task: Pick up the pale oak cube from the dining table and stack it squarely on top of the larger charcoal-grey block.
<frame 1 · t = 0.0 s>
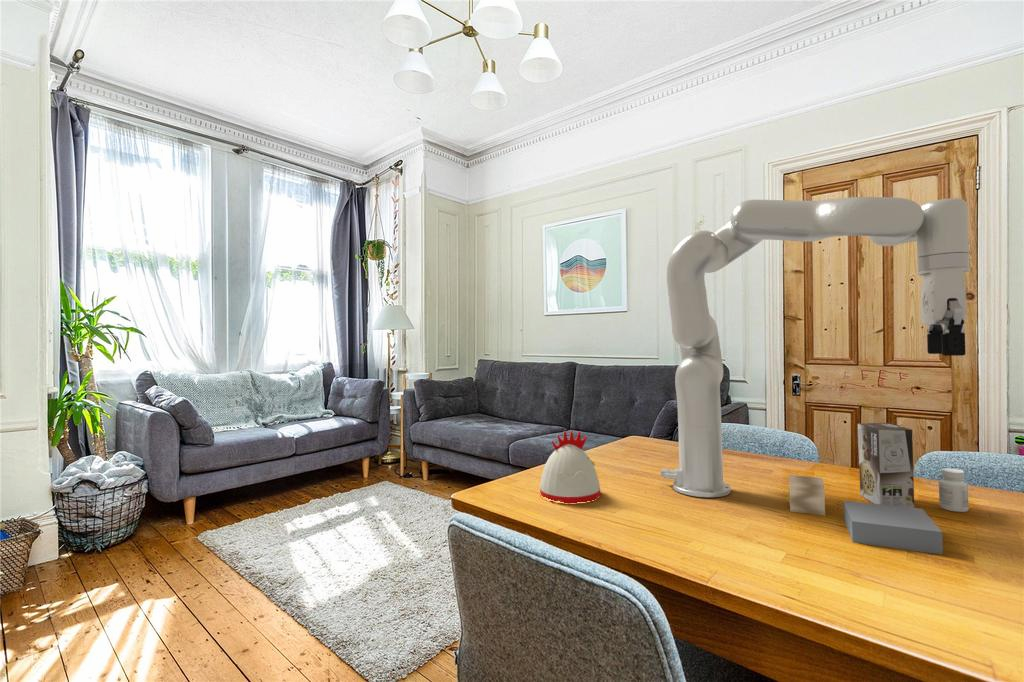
hand: (945, 354, 95), 31 cm above the table, fingers open, 9 cm apart
oak cube: (806, 509, 102), on the table
charcoal block: (888, 537, 88), on the table
coffee box: (886, 502, 105), on the table
kitchen timer: (570, 495, 116), on the table
pill bottle: (953, 509, 100), on the table
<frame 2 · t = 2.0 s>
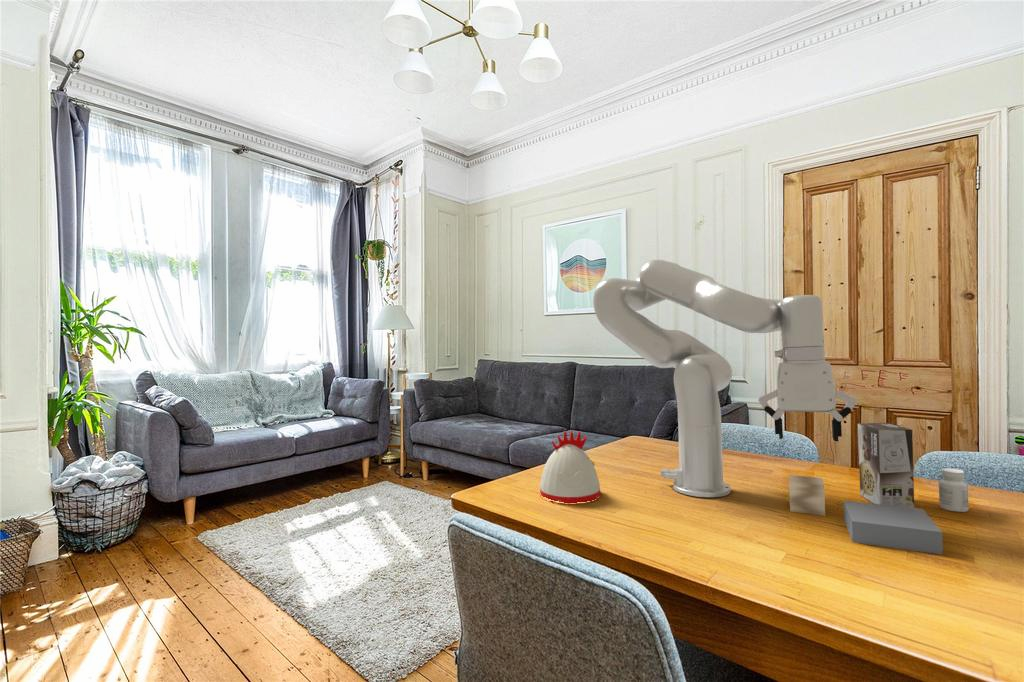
hand: (807, 439, 102), 14 cm above the table, fingers open, 9 cm apart
nothing on the table moved.
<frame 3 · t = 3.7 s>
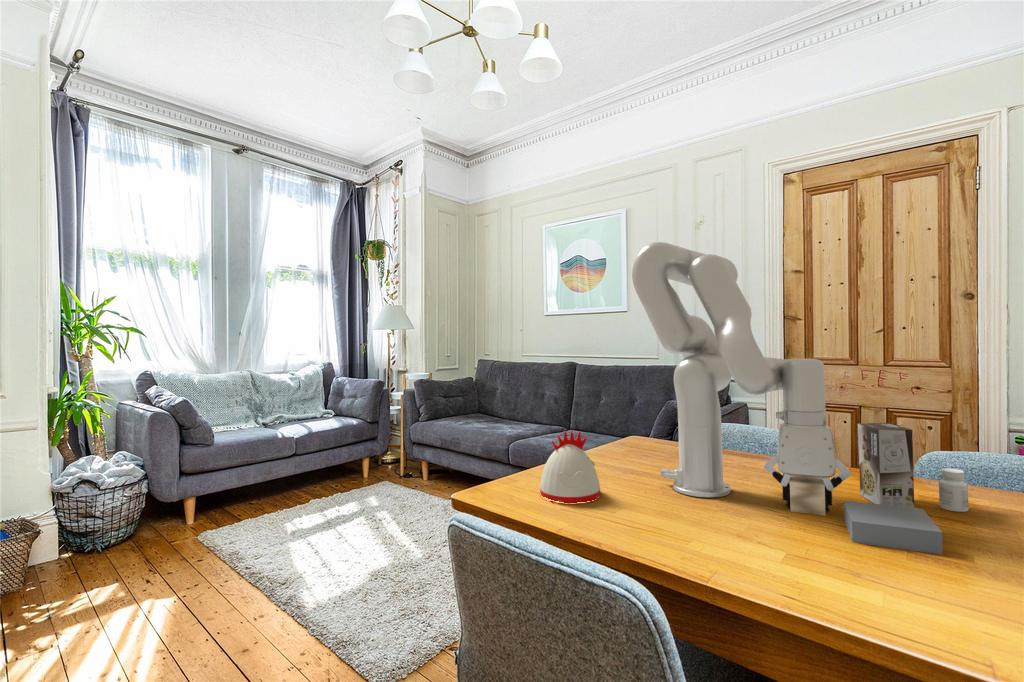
hand: (806, 505, 102), 1 cm above the table, fingers closed on oak cube, 6 cm apart
oak cube: (806, 508, 102), on the table, touching gripper
everything else where it was.
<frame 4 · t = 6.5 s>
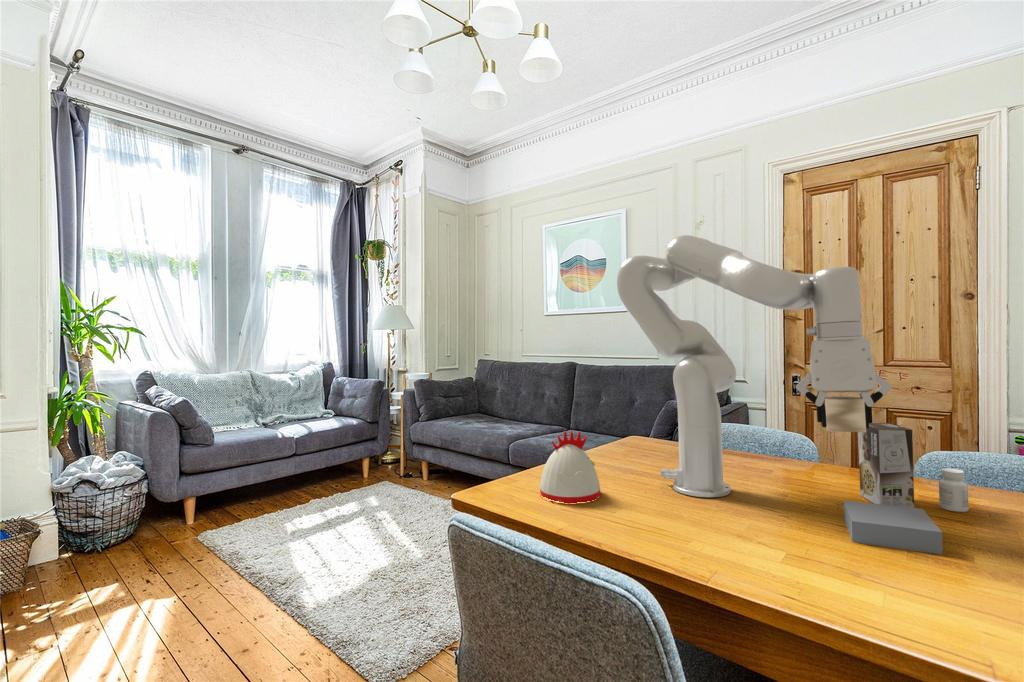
hand: (844, 425, 95), 18 cm above the table, fingers closed on oak cube, 6 cm apart
oak cube: (844, 429, 95), point 17 cm above the table, touching gripper
everything else where it was.
when the fingers open (5 cm above the table, at t = 9.6 s): oak cube stays where it is, point 4 cm above the table.
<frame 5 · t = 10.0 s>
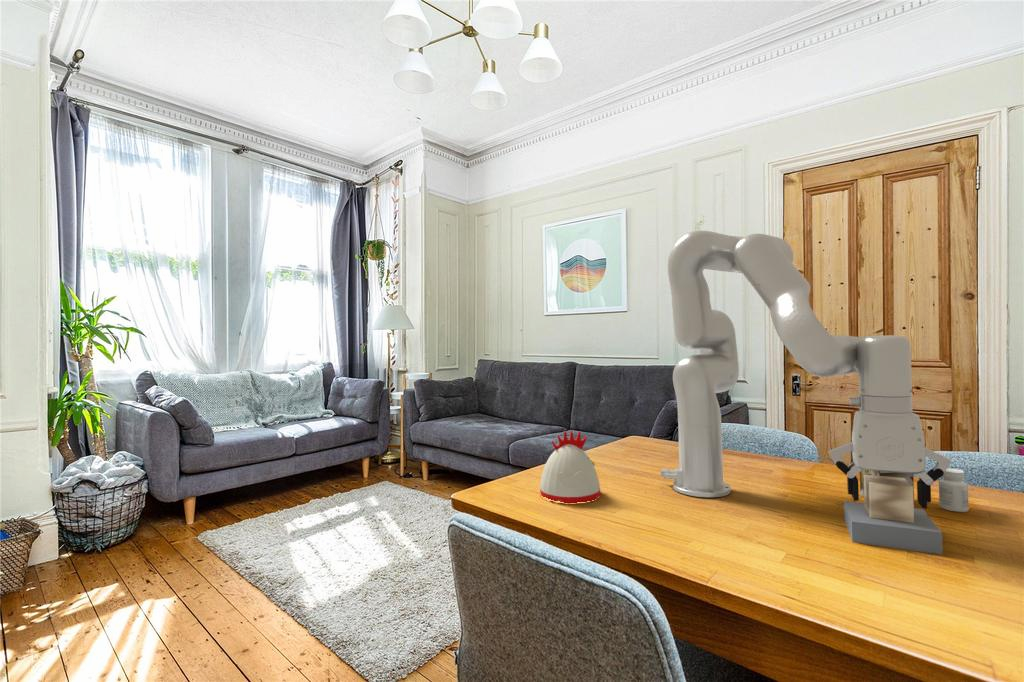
hand: (887, 502, 88), 6 cm above the table, fingers open, 9 cm apart
oak cube: (888, 514, 88), point 4 cm above the table
everything else where it was.
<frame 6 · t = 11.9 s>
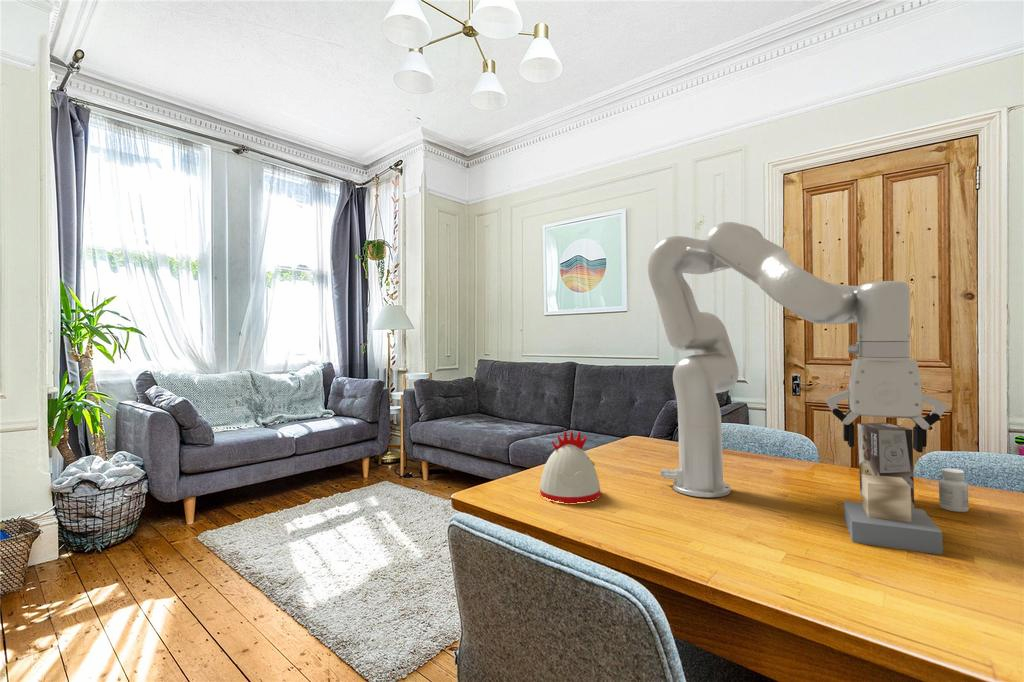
hand: (883, 448, 88), 15 cm above the table, fingers open, 9 cm apart
nothing on the table moved.
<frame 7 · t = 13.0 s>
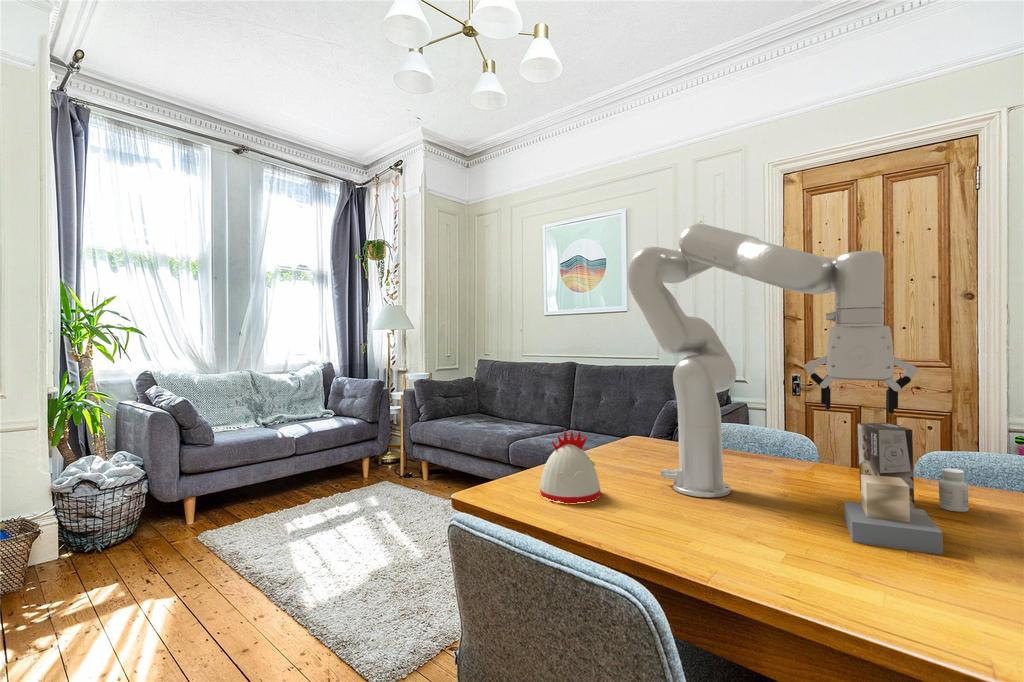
hand: (857, 410, 93), 21 cm above the table, fingers open, 9 cm apart
oak cube: (884, 513, 88), point 3 cm above the table, touching charcoal block
charcoal block: (889, 538, 88), on the table, touching oak cube
everything else where it was.
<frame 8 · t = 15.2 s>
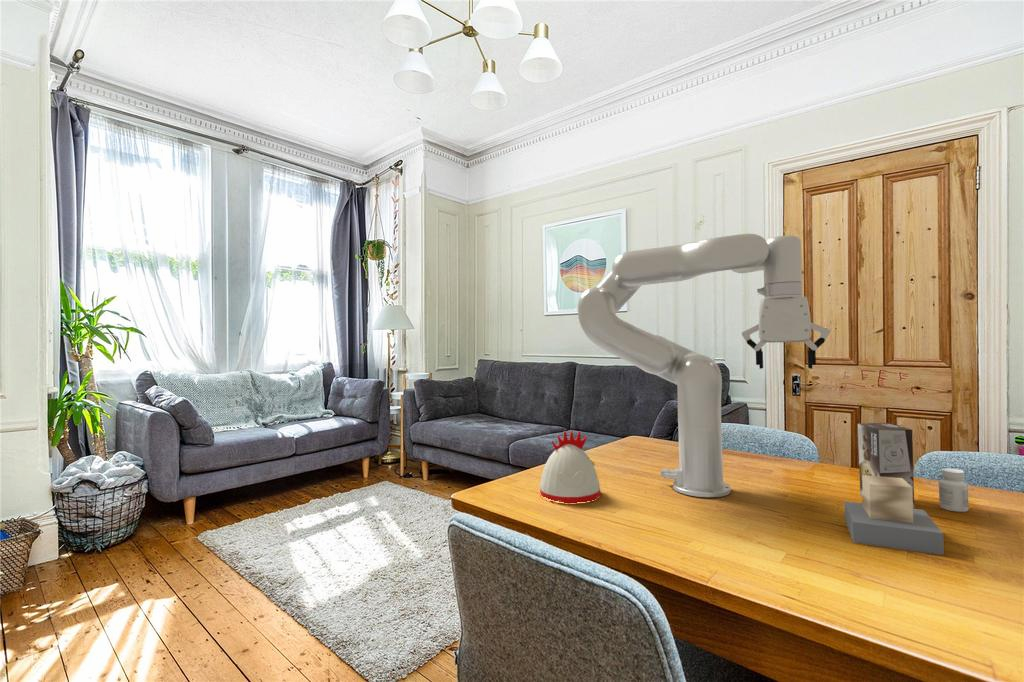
hand: (785, 368, 112), 28 cm above the table, fingers open, 9 cm apart
nothing on the table moved.
at the end: oak cube inside the target area on the charcoal block (0.4 cm from its centre), point 4.0 cm above the charcoal block's base; oak cube tilted 1°; oak cube touching charcoal block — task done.
